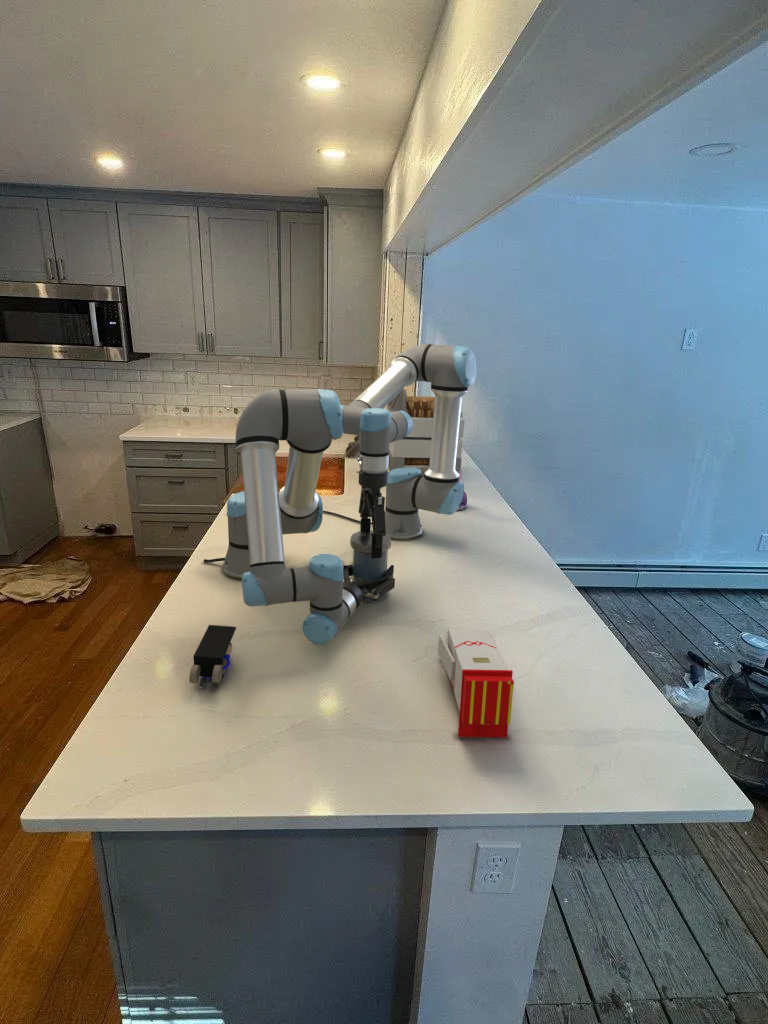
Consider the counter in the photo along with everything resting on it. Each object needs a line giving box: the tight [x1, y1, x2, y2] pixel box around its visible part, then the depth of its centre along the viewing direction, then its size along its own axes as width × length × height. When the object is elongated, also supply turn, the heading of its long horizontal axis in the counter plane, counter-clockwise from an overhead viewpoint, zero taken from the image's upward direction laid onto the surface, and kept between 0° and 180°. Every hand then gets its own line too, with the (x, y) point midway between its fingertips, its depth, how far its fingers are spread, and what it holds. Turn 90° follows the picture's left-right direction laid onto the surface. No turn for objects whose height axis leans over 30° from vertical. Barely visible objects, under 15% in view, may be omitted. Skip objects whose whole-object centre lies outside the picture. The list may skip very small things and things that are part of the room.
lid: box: [349, 529, 392, 553], centre depth 152 cm, size 11×11×2 cm
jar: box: [351, 548, 389, 603], centre depth 155 cm, size 10×10×16 cm
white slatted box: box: [386, 388, 465, 473], centre depth 268 cm, size 34×33×41 cm
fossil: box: [344, 435, 360, 458], centre depth 304 cm, size 22×10×15 cm
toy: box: [437, 628, 515, 738], centre depth 117 cm, size 12×13×30 cm
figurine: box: [456, 470, 468, 511], centre depth 227 cm, size 9×10×15 cm
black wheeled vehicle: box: [188, 624, 237, 689], centre depth 120 cm, size 7×8×15 cm
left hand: (375, 566), depth 159 cm, fingers closed on jar, 9 cm apart
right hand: (370, 548), depth 153 cm, fingers closed on lid, 11 cm apart
